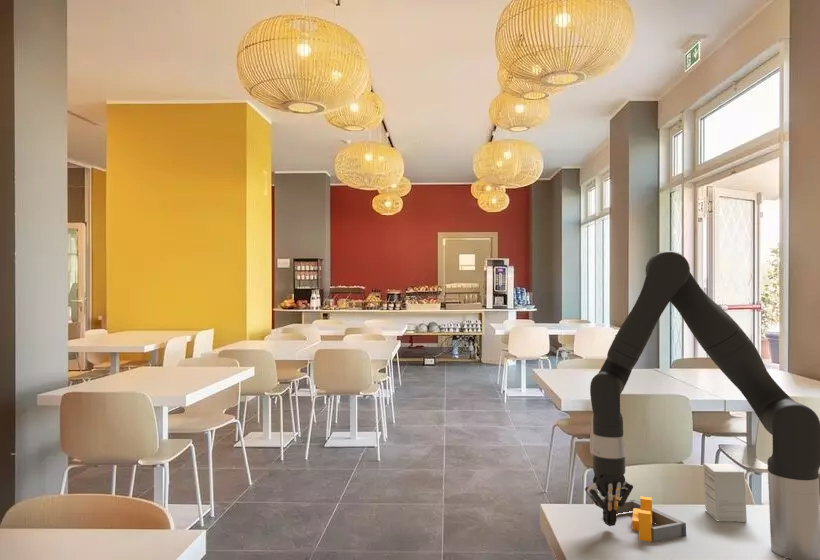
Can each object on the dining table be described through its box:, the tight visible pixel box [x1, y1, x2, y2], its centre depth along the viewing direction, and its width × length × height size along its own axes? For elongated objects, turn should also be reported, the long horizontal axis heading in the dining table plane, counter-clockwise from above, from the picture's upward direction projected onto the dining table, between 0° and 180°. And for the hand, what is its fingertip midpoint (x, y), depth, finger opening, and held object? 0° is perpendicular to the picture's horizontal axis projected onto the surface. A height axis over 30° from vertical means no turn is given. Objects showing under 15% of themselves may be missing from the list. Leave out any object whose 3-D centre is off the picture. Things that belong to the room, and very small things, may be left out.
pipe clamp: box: [631, 495, 654, 543], centre depth 132 cm, size 12×4×6 cm, turn 154°
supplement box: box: [703, 462, 748, 523], centre depth 140 cm, size 7×7×13 cm
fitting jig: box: [616, 499, 687, 543], centre depth 135 cm, size 10×17×3 cm, turn 20°
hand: (610, 524), depth 132 cm, fingers closed
